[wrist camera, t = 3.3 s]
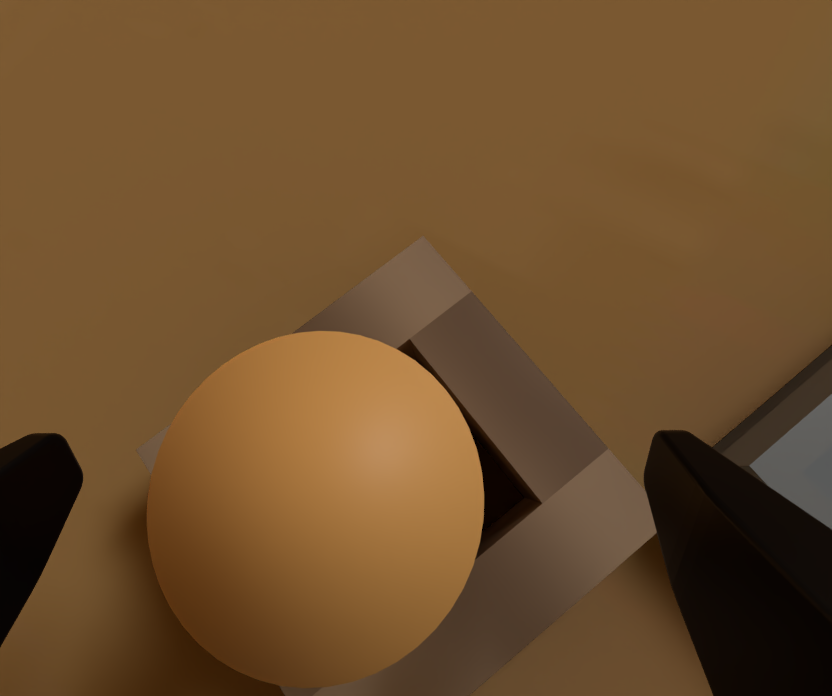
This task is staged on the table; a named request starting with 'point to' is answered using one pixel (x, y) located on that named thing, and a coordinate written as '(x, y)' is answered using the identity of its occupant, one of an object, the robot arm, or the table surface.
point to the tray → (792, 440)
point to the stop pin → (315, 509)
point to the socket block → (517, 457)
